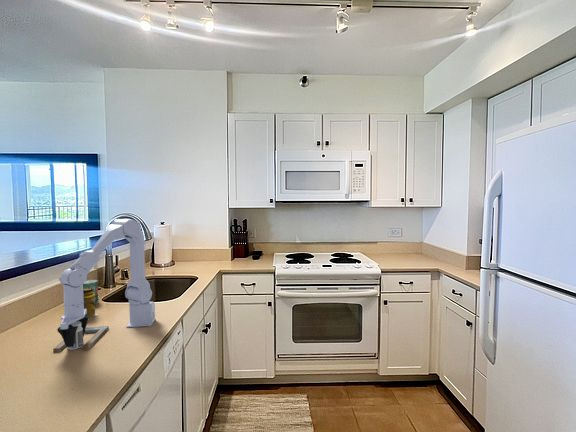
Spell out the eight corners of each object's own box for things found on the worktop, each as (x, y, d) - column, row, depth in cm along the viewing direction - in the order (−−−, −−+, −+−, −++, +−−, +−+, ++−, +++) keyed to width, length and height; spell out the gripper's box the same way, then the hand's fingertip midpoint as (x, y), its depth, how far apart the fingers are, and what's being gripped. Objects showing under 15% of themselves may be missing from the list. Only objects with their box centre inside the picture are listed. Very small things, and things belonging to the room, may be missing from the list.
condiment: (99, 314, 146) (99, 287, 146) (81, 320, 138) (80, 293, 138) (88, 312, 149) (87, 286, 148) (70, 318, 141) (69, 291, 141)
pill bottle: (80, 342, 117) (79, 319, 117) (85, 346, 114) (84, 322, 114) (65, 347, 114) (64, 323, 113) (69, 351, 111) (69, 327, 110)
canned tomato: (75, 305, 159) (75, 282, 158) (89, 300, 166) (89, 279, 166) (88, 306, 157) (87, 284, 156) (102, 301, 164) (101, 280, 163)
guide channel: (105, 332, 127) (105, 328, 127) (88, 349, 112) (88, 346, 112) (74, 333, 125) (74, 330, 125) (53, 352, 110) (53, 348, 110)
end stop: (108, 329, 130) (108, 326, 129) (105, 332, 127) (105, 328, 127) (78, 330, 128) (78, 327, 128) (74, 333, 125) (74, 330, 125)
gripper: (71, 297, 120) (72, 334, 120) (49, 311, 105) (51, 352, 106) (92, 296, 121) (93, 332, 121) (73, 309, 106) (74, 350, 107)
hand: (75, 341), depth 114 cm, fingers open, 7 cm apart
